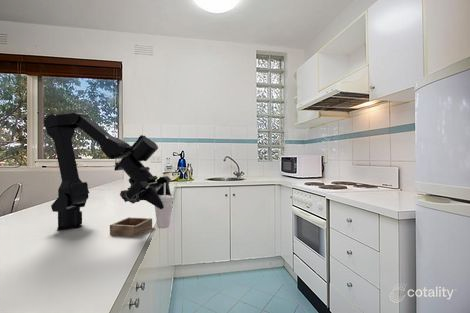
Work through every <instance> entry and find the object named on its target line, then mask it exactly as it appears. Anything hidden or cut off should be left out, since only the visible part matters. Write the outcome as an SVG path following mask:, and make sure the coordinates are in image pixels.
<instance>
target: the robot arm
mask: <svg viewBox="0 0 470 313" xmlns="http://www.w3.org/2000/svg"><path fill="white" fill-rule="evenodd" d="M43 126H44V129H45V132H46V134H47V135H48V136H49V137H50V138H51V139H52V140H53V143H54V147H55V152H56V156H57V161H58V162H57V163H58V167H59V171H60V178H61V183H60V185H59V186H58V189H57V191H58V192H57V195H58V197H57V198H56V199H55V200H54V202H53V203H52V204H51V206H50V207H51V211H52V212H54V213H57V229H56V230H57V231H61V230H69V229H74V228H81V226H82V224H83V211H81V208H84V207H85V206H86V203H87V200H88V199H89V194H90V191H89V186H88V182H87V181H84V182H83V181H82V180H81V179H80V176H79V171H78V167H77V162H76V157H75V156H76V154H75V152H74V146H73V142H72V139H73V137H74V135H75V133H76V129H80V130H81V131H83V132H84V133H85V134H86V135H88V137H90V138H91V139H93V140H94V141H95V142H96V143H97V144H98V145H99V147H100V150H101V151H102V153H103V154H104V155H105V156H106V157H107V158H108V159H111V160H119V159H120V160H119V161H118V162H115V165H114V171H123V172H124V173H125V174H126V175H127V176H128V178H129V179H128V183H129V184H130V186H129V187H128V188H127V189H124V190H121V191H120V193H119V196H120V197H121V199H122V200H123V201H124V203H127V202H129V203H130V204H136V203H139V202H141V201H145V202H147V203H149V204H151V205H152V206H154V207H155V206H156V207H158V208H159V209H163V208H164V206H163V204H162V201H161V199H160V197H159V195H164V183H166V195H172V193H171V189H170V183H171V181H172V179H171V178H170V177H169V176H167V175H164V176H160V177H159V178H158V176H157V175H153V174H152V173H151V171H150V169H151V168H150V167H149V166H144V164H143V163H142V162H147V161H148V160H149V159H150V158H151V157H152V156H153V155H154V154H155V152H157V151H158V149H159V147H158V145H157V143H156V142H155V141H153V140H151V139H150V138H148V137H147V136H145V135H142V134H141V135H139V137H138V138H137V139H136V141H135V142H134V143H133V144H132V145H130V144H129V143H128V142H126V141H124V140H122V139H120V138H118V137H116V136H113V135H111V134H110V133H109V132H108V131H107V130H105V129H103V128H102V126H100V125H99V124H97V123H96V122H95V121H93V120H92V119H91V118H90V116H89V115H87V114H85V113H80V112H72V113H61V114H54V113H52V114H48V115H47V116H46V117H45V118H44V120H43ZM173 204H174V202H172V205H173Z"/></svg>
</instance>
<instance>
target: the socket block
mask: <svg viewBox="0 0 470 313" xmlns="http://www.w3.org/2000/svg"><path fill="white" fill-rule="evenodd" d="M152 228H153V218H151V217H150V218H146V217H145V218H144V217H129V216H128V217H126V218H123V219H121V220H118V221H117V222H113V223H112V224H109V235H110V236H125V237H126V236H127V237H128V236H129V237H138V236H140V235H141V234H143V233H145V232H146V231H148V230H150V229H152Z"/></svg>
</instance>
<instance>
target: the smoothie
mask: <svg viewBox="0 0 470 313" xmlns="http://www.w3.org/2000/svg"><path fill="white" fill-rule="evenodd" d="M159 197H160V199H161V201H162V204H163V206H164V208H163V209H159V208H158V207H156V206H154V211H155V220H156V228H157V229H167V228H170V224H171V216H172V208H173V207H172V206H173V204H172V202H173V201H174V200H175V199H174V198H175V197H174V195H173V194H171V195H166V183H164V195H159ZM173 203H174V202H173Z"/></svg>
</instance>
